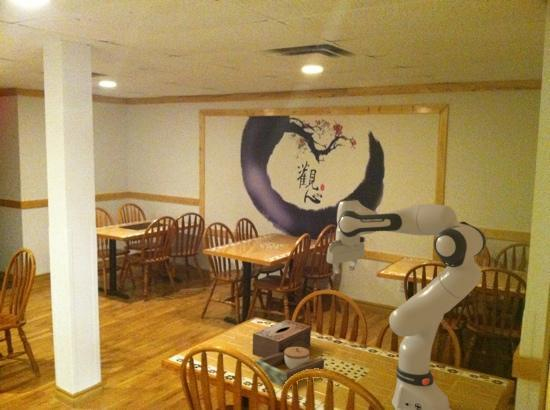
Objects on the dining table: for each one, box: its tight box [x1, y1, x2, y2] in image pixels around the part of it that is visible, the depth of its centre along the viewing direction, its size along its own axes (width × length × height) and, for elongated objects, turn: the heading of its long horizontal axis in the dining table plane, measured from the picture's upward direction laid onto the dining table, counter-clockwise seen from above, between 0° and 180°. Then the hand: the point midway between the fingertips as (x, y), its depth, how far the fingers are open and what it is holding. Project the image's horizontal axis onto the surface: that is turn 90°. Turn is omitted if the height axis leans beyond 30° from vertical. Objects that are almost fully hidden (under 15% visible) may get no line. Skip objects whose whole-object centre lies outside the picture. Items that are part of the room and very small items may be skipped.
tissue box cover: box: [252, 319, 312, 359], centre depth 230 cm, size 26×14×10 cm, turn 143°
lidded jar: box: [284, 347, 310, 370], centre depth 210 cm, size 11×11×9 cm
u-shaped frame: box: [254, 351, 325, 388], centre depth 208 cm, size 17×24×5 cm
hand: (344, 271), depth 203 cm, fingers open, 8 cm apart
